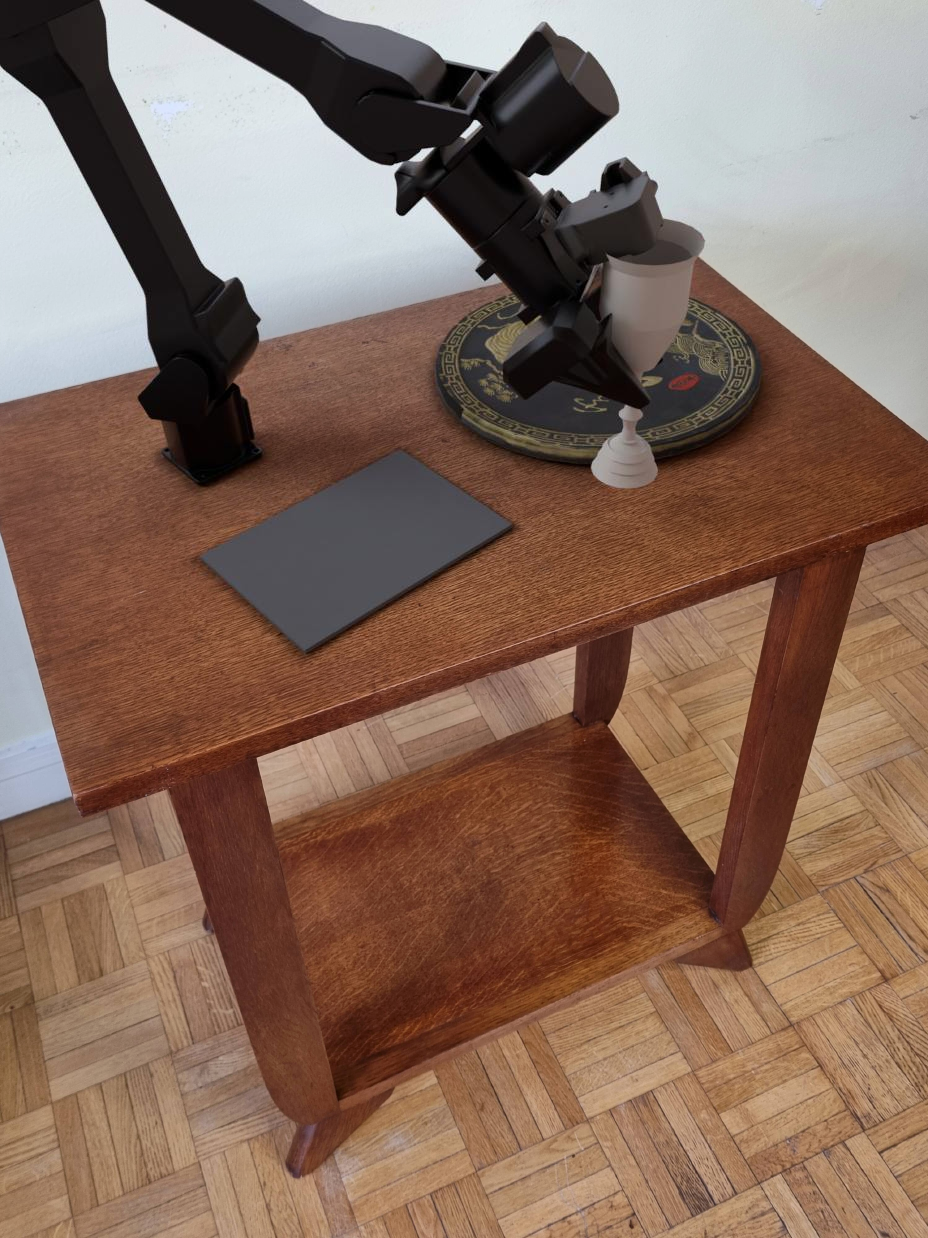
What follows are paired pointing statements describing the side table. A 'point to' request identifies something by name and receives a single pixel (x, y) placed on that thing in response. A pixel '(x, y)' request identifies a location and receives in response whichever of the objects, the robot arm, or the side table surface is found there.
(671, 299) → the chalice
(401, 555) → the felt mat
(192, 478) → the robot arm
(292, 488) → the side table surface
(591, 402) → the decorative plate
